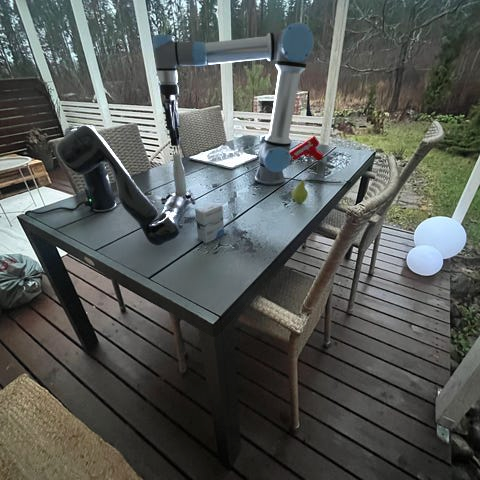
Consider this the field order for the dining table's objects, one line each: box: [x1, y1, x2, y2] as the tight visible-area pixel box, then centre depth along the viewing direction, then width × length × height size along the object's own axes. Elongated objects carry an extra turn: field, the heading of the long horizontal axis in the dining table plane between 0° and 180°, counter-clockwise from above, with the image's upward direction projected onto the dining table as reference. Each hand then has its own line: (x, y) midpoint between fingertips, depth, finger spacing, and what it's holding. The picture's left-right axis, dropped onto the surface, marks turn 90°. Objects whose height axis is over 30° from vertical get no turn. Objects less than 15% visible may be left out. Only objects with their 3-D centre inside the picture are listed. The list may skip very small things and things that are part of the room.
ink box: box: [194, 201, 225, 244], centre depth 94 cm, size 8×5×12 cm, turn 135°
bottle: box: [172, 153, 190, 211], centre depth 111 cm, size 4×4×23 cm
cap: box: [169, 137, 181, 146], centre depth 119 cm, size 4×4×2 cm
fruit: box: [291, 174, 311, 204], centre depth 118 cm, size 7×8×12 cm
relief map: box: [189, 144, 258, 170], centre depth 177 cm, size 27×35×5 cm
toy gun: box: [289, 135, 324, 163], centre depth 172 cm, size 18×4×15 cm
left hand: (182, 191), depth 116 cm, fingers closed on bottle, 4 cm apart
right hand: (175, 144), depth 120 cm, fingers closed on cap, 4 cm apart
